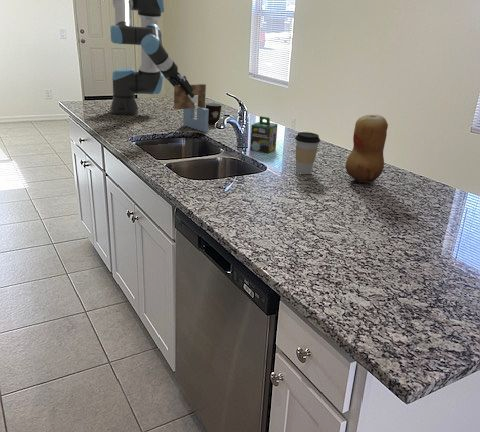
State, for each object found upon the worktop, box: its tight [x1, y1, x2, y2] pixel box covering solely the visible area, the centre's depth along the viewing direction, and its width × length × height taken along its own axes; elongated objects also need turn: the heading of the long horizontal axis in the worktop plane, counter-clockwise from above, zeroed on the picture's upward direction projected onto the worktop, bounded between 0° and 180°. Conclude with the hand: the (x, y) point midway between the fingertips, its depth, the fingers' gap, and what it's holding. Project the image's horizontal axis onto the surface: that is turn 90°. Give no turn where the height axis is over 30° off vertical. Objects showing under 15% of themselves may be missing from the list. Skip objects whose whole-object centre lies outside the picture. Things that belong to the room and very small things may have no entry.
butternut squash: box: [345, 114, 389, 183], centre depth 169 cm, size 14×13×25 cm
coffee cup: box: [294, 131, 321, 175], centre depth 176 cm, size 9×9×15 cm
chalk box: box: [249, 116, 278, 154], centre depth 203 cm, size 9×9×15 cm
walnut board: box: [173, 83, 207, 111], centre depth 225 cm, size 18×2×11 cm, turn 137°
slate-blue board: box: [182, 105, 209, 133], centre depth 233 cm, size 16×2×11 cm, turn 47°
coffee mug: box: [202, 102, 223, 125], centre depth 248 cm, size 12×9×10 cm
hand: (193, 100), depth 227 cm, fingers closed on walnut board, 2 cm apart
